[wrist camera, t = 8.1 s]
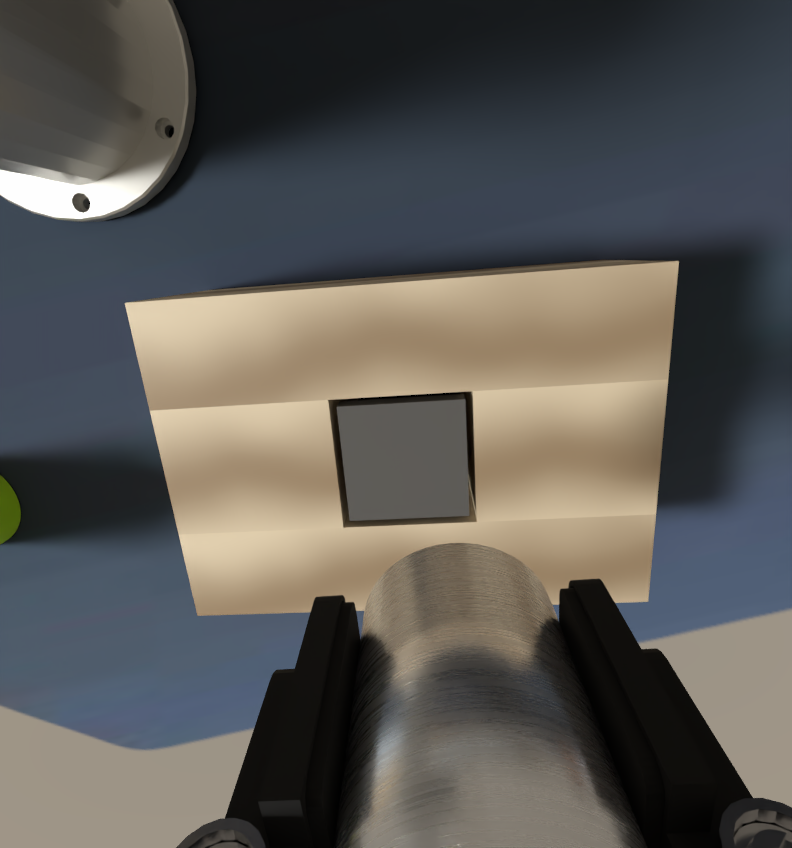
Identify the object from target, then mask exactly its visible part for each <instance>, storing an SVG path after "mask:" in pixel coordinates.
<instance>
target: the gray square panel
mask: <svg viewBox="0 0 792 848" xmlns="http://www.w3.org/2000/svg"><path fill="white" fill-rule="evenodd" d="M337 415H338V424H339V432H340V441H341V450H342V458H343V467H344V476H345V484H346V493H347V502H348V510H349V519H350V521H361V520H384V519H408V518H431V517H454V516H469V489H468V460H467V431H466V402H465V396H464V394H454V395H438V396H421V397H404V398H388V399H371V400H354V401H340V402H339V403H338V405H337Z"/></svg>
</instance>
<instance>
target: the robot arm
mask: <svg viewBox="0 0 792 848" xmlns="http://www.w3.org/2000/svg"><path fill="white" fill-rule="evenodd" d="M195 104H196V82H195V71H194V61H193V57H192V53H191V49H190V45H189V41H188V37H187V33H186V30H185V28H184V25H183V23H182V21H181V18H180V16H179V13H178V11H177V9H176V6H175V4H174V2H173V0H0V196H2V197H3V198H5V199H6V200H7V201H9V202H11V203H13V204H15V205H17V206H19V207H22V208H24V209H26V210H28V211H30V212H32V213H35V214H39V215H42V216H46V217H50V218H53V219H57V220H66V221H75V222H94V221H105V220H109V219H113V218H117V217H121V216H124V215H126V214H128V213H130V212H132V211H134V210H136V209H138V208H140V207H142V206H144V205H145V204H146V203H147V202H149V201H150V200H151V199H152V198H153V197H154V196H156V195H157V194H158V193H159V192H160V191H161V190H162V189H163V188H164V187H165V185H166V184H167V183H168V181H169V180H170V179H171V177H172V176H173V175H174V173H175V172H176V171H177V169H178V167H179V164H180V162H181V160H182V158H183V156H184V154H185V152H186V150H187V147H188V143H189V140H190V136H191V132H192V128H193V124H194V117H195ZM173 127H174V134H173V135H172V137H170V135H169V130H170V129H171V128H173ZM89 201H90V207H89ZM559 624H560V626H561V629H562V631H563V634H564V637H565V639H566V642H567V644H568V647H569V649H570V652H571V654H572V657H573V660H574V662H575V665H576V667H577V670H578V672H579V675H580V677H581V680H582V682H583V685H584V688H585V690H586V693H587V695H588V698H589V700H590V703H591V705H592V708H593V710H594V713H595V716H596V718H597V721H598V723H599V726H600V728H601V731H602V733H603V736H604V739H605V741H606V744H607V746H608V749H609V751H610V754H611V756H612V759H613V761H614V764H615V767H616V769H617V772H618V774H619V777H620V779H621V782H622V784H623V787H624V789H625V792H626V795H627V797H628V800H629V802H630V805H631V807H632V810H633V812H634V815H635V818H636V820H637V823H638V825H639V828H640V830H641V833H642V835H643V838H644V840H645V842H646V845H647V848H792V808H791V807H789V806H787V805H785V804H783V803H780V802H776V801H772V800H768V799H764V798H753V797H752V796H751V794H750V792H749V791H748V789H747V788H746V786H745V784H744V783H743V781H742V779H741V778H740V776H739V775H738V773H737V771H736V770H735V768H734V767H733V765H732V763H731V762H730V760H729V759H728V757H727V755H726V754H725V752H724V751H723V749H722V747H721V746H720V744H719V742H718V741H717V739H716V738H715V736H714V734H713V733H712V731H711V730H710V728H709V726H708V725H707V723H706V721H705V720H704V718H703V717H702V715H701V713H700V712H699V710H698V708H697V707H696V705H695V704H694V702H693V700H692V699H691V697H690V696H689V694H688V692H687V691H686V689H685V687H684V686H683V684H682V683H681V681H680V679H679V678H678V676H677V675H676V673H675V671H674V670H673V668H672V667H671V665H670V663H669V662H668V660H667V658H666V657H665V656H664V655H663V654H662V652H661V651H659V650H658V649H641V648H640V646H639V644H638V643H637V641H636V639H635V637H634V636H633V634H632V632H631V630H630V629H629V627H628V625H627V623H626V622H625V620H624V618H623V616H622V615H621V613H620V611H619V609H618V608H617V606H616V604H615V602H614V601H613V599H612V597H611V595H610V594H609V592H608V590H607V588H606V587H605V585H604V583H603V582H602V580H601V579H599V578H598V579H583V580H571V581H570V582H569V586H568V588H564V589H560V593H559ZM359 649H360V634H359V628H358V621H357V614H356V608H355V604H354V602H345V598H344V596H343V595H335V596H320V597H316V598H315V599H314V602H313V606H312V609H311V613H310V616H309V620H308V624H307V627H306V631H305V634H304V638H303V642H302V645H301V649H300V652H299V656H298V660H297V663H296V667H295V669H284V670H276V671H275V672H274V673H273V675H272V677H271V680H270V682H269V685H268V688H267V691H266V695H265V698H264V701H263V704H262V707H261V710H260V713H259V716H258V719H257V722H256V725H255V728H254V731H253V734H252V737H251V740H250V743H249V746H248V749H247V753H246V756H245V759H244V762H243V765H242V768H241V771H240V774H239V777H238V780H237V783H236V786H235V789H234V792H233V796H232V798H231V801H230V804H229V808H228V811H227V814H226V817H225V819H218V820H216V821H213V822H211V823H208V824H205V825H203V826H202V827H200V828H199V829H197V830H196V831H194V832H193V833H191V834H190V835H188V836H187V837H186V838H185V839H184V840H183V841H182V842H181V843H180V844H179V845H178V846H177V847H176V848H334V841H335V833H336V825H337V818H338V810H339V802H340V795H341V787H342V779H343V772H344V764H345V756H346V749H347V741H348V733H349V726H350V718H351V710H352V702H353V695H354V687H355V679H356V672H357V664H358V656H359Z"/></svg>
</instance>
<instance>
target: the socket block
mask: <svg viewBox="0 0 792 848" xmlns="http://www.w3.org/2000/svg"><path fill="white" fill-rule="evenodd" d="M678 267H679V261H643V260H595V261H581V262H568V263H555V264H542V265H529V266H516V267H503V268H490V269H477V270H464V271H451V272H438V273H425V274H412V275H399V276H386V277H373V278H360V279H347V280H334V281H321V282H308V283H295V284H282V285H269V286H256V287H243V288H230V289H217V290H207V291H200V292H194V293H187V294H180V295H174V296H167V297H161V298H154V299H148V300H141V301H135V302H128V303H125V306H126V310H127V315H128V319H129V323H130V328H131V332H132V336H133V340H134V345H135V349H136V353H137V358H138V362H139V366H140V370H141V375H142V379H143V383H144V388H145V392H146V396H147V400H148V405H149V409H150V413H151V418H152V422H153V426H154V431H155V435H156V439H157V443H158V448H159V452H160V456H161V461H162V465H163V469H164V473H165V478H166V482H167V486H168V491H169V495H170V499H171V504H172V508H173V512H174V516H175V521H176V525H177V529H178V534H179V538H180V542H181V546H182V551H183V555H184V559H185V564H186V568H187V572H188V576H189V581H190V585H191V589H192V594H193V598H194V602H195V607H196V611H197V615H198V616H202V615H234V614H267V613H299V612H311V609H312V606H313V602H314V599H315V598H316V597H320V596H335V595H343V596H344V598H345V602H354V604H355V608H356V611H363V610H365V606H366V602H367V599H368V597H369V595H370V592H371V590H372V589H373V587H374V585H375V584H376V582H377V581H378V580H379V578H380V577H381V576H382V575H383V574H384V572H386V571H387V570H388V569H389V568H390V567H391V566H392V565H393V564H395V563H396V562H398V561H399V560H401V559H402V558H404V557H406V556H408V555H410V554H412V553H414V552H416V551H419V550H421V549H424V548H427V547H431V546H435V545H440V544H448V543H471V544H479V545H484V546H488V547H492V548H495V549H498V550H501V551H503V552H505V553H507V554H509V555H511V556H513V557H515V558H516V559H518V560H519V561H521V562H522V563H524V564H525V565H526V566H527V567H528V568H530V569H531V570H532V571H533V572H534V573H535V575H536V576H537V577H538V578H539V579H540V581H541V582H542V584H543V586H544V587H545V589H546V591H547V593H548V596H549V598H550V601H551V603H552V605H557V604H559V593H560V589H564V588H568V586H569V582H570V581H571V580H583V579H598V578H599V579H601V580H602V582H603V583H604V585H605V587H606V588H607V590H608V592H609V594H610V595H611V597H612V599H613V601H614V602H615V603H622V602H648V596H649V585H650V574H651V563H652V552H653V541H654V531H655V520H656V509H657V498H658V487H659V476H660V465H661V454H662V443H663V432H664V421H665V410H666V399H667V388H668V377H669V366H670V355H671V344H672V333H673V322H674V311H675V300H676V289H677V278H678ZM451 392H460V394H464V396H465V402H466V431H467V460H468V489H469V516H454V517H431V518H408V519H384V520H361V521H350V519H349V510H348V502H347V493H346V484H345V476H344V467H343V458H342V450H341V441H340V432H339V424H338V415H337V405H338V403H339V402H340V401H354V400H358V398H368V397H385V396H401V395H418V394H435V393H451Z"/></svg>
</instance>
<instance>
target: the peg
mask: <svg viewBox="0 0 792 848" xmlns="http://www.w3.org/2000/svg"><path fill="white" fill-rule="evenodd" d="M334 848H647V845H646V842H645V840H644V838H643V835H642V833H641V830H640V828H639V825H638V823H637V820H636V818H635V815H634V812H633V810H632V807H631V805H630V802H629V800H628V797H627V795H626V792H625V789H624V787H623V784H622V782H621V779H620V777H619V774H618V772H617V769H616V767H615V764H614V761H613V759H612V756H611V754H610V751H609V749H608V746H607V744H606V741H605V739H604V736H603V733H602V731H601V728H600V726H599V723H598V721H597V718H596V716H595V713H594V710H593V708H592V705H591V703H590V700H589V698H588V695H587V693H586V690H585V688H584V685H583V682H582V680H581V677H580V675H579V672H578V670H577V667H576V665H575V662H574V660H573V657H572V654H571V652H570V649H569V647H568V644H567V642H566V639H565V637H564V634H563V631H562V629H561V626H560V624H559V621H558V618H557V616H556V613H555V611H554V608H553V606H552V603H551V601H550V598H549V596H548V593H547V591H546V589H545V587H544V586H543V584H542V582H541V581H540V579H539V578H538V577H537V576H536V575H535V573H534V572H533V571H532V570H531V569H530V568H528V567H527V566H526V565H525V564H524V563H522V562H521V561H519V560H518V559H516V558H515V557H513V556H511V555H509V554H507V553H505V552H503V551H501V550H498V549H495V548H492V547H488V546H484V545H479V544H471V543H448V544H440V545H435V546H431V547H427V548H424V549H421V550H419V551H416V552H414V553H412V554H410V555H408V556H406V557H404V558H402V559H401V560H399V561H398V562H396V563H395V564H393V565H392V566H391V567H390V568H389V569H388V570H387V571H386V572H384V574H383V575H382V576H381V577H380V578H379V580H378V581H377V582H376V584H375V585H374V587H373V589H372V590H371V592H370V595H369V597H368V599H367V602H366V606H365V610H364V618H363V626H362V633H361V641H360V649H359V656H358V664H357V672H356V679H355V687H354V695H353V702H352V710H351V718H350V726H349V733H348V741H347V749H346V756H345V764H344V772H343V779H342V787H341V795H340V802H339V810H338V818H337V825H336V833H335V841H334Z"/></svg>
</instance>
